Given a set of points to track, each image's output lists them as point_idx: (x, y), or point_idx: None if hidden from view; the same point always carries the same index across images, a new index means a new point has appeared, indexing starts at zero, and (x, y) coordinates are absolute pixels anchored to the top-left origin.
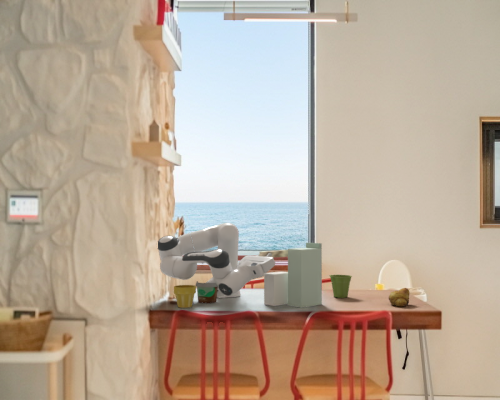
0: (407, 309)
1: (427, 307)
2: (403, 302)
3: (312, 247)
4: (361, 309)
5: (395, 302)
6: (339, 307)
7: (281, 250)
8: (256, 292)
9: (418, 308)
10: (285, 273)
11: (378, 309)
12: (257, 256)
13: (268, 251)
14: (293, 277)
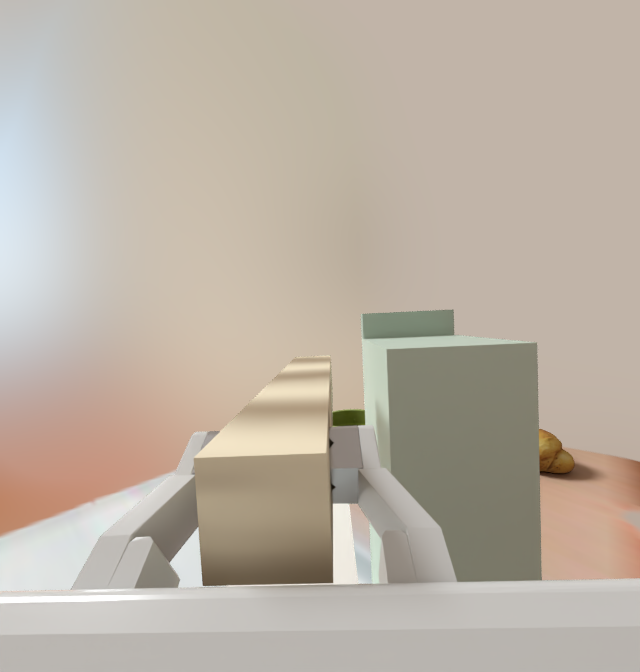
0: (610, 480)
1: (575, 451)
2: (573, 460)
3: (407, 333)
4: (614, 551)
5: (557, 465)
6: (552, 579)
7: (310, 369)
8: (16, 586)
9: (591, 464)
10: (352, 535)
11: (612, 519)
12: (191, 621)
13: (310, 409)
14: (455, 560)
